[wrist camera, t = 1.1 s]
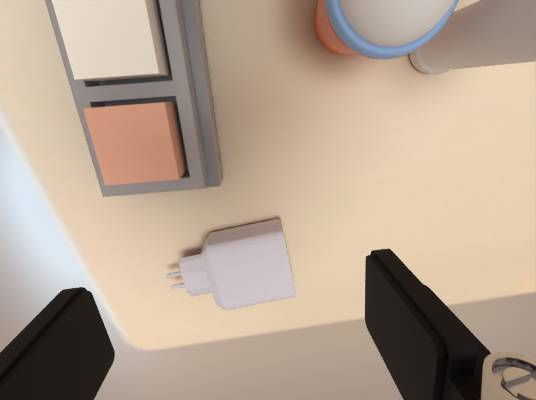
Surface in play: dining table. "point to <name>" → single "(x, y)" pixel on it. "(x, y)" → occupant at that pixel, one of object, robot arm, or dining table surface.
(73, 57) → the cream key
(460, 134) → the dining table surface
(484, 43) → the bottle
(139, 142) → the terracotta key
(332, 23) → the cup with straw
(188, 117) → the keypad
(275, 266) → the charger
